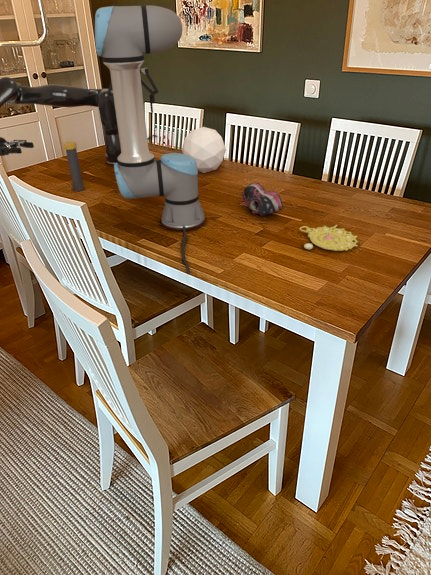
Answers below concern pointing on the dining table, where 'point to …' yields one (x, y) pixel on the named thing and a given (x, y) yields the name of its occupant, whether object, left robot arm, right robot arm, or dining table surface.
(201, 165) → the sphere
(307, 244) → the decorative object
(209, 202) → the dining table surface
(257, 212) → the athletic shoe
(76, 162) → the dark grey cylinder
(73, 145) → the lid
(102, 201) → the dining table surface
